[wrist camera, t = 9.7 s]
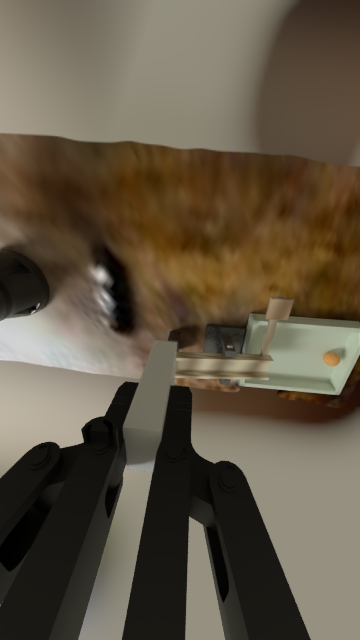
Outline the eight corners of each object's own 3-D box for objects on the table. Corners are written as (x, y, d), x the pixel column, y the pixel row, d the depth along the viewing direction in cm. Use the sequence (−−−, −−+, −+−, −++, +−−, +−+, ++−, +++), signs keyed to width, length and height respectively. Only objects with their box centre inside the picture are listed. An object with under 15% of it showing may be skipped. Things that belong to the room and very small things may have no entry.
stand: (169, 357, 53) (164, 382, 45) (170, 321, 49) (164, 341, 40) (237, 363, 52) (244, 389, 44) (244, 327, 48) (254, 349, 40)
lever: (165, 369, 45) (165, 379, 42) (167, 290, 37) (167, 296, 34) (265, 371, 46) (271, 382, 43) (287, 295, 38) (297, 301, 35)
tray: (236, 375, 54) (239, 385, 50) (249, 313, 46) (254, 320, 43) (329, 383, 53) (339, 395, 49) (358, 321, 45) (372, 329, 42)
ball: (338, 364, 48) (322, 359, 50) (343, 353, 47) (327, 348, 48) (336, 371, 46) (319, 364, 48) (341, 359, 44) (324, 353, 46)
